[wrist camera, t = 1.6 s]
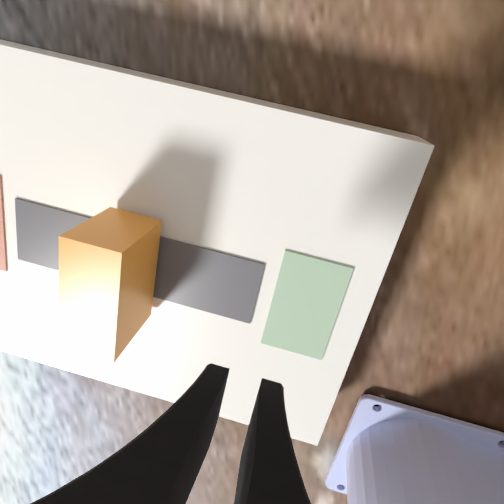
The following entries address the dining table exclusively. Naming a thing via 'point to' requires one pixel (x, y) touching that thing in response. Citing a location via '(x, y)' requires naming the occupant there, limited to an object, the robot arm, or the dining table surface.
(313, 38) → the dining table surface
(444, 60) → the dining table surface
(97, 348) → the handle
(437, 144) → the dining table surface
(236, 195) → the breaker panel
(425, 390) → the dining table surface
